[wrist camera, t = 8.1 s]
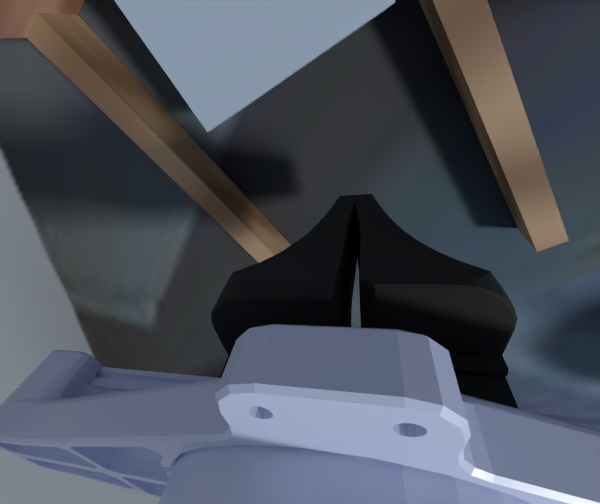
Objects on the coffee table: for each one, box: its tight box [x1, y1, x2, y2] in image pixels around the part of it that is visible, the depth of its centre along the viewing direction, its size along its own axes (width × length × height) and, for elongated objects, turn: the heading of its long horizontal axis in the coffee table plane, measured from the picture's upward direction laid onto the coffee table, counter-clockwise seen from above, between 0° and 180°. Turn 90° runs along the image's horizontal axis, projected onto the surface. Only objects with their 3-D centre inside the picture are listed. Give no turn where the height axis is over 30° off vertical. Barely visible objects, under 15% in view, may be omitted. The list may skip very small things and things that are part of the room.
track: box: [0, 0, 569, 263], centre depth 12 cm, size 22×13×4 cm, turn 39°
